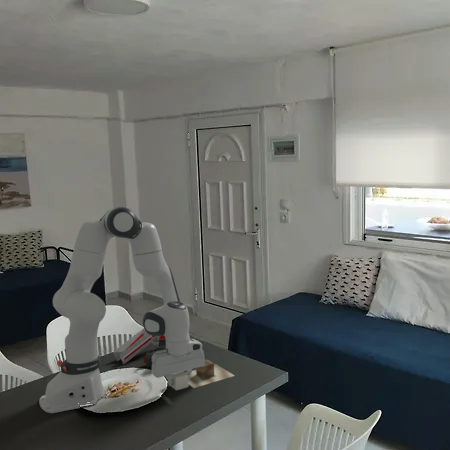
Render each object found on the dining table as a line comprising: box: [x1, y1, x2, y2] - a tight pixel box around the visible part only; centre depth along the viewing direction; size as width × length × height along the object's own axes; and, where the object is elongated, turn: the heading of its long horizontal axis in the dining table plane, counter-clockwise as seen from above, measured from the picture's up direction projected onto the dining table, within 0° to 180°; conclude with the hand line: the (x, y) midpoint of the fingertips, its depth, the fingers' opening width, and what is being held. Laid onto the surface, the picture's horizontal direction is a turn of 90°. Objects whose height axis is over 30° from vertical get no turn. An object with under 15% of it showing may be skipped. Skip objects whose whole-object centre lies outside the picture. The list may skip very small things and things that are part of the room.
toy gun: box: [112, 327, 166, 365], centre depth 225 cm, size 7×28×15 cm, turn 133°
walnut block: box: [195, 359, 215, 379], centre depth 198 cm, size 5×5×5 cm
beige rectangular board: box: [185, 363, 235, 389], centre depth 198 cm, size 18×14×1 cm
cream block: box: [170, 371, 190, 391], centre depth 189 cm, size 5×5×5 cm
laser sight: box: [143, 339, 166, 368], centre depth 211 cm, size 10×22×10 cm, turn 91°
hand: (179, 382), depth 189 cm, fingers closed on cream block, 5 cm apart
